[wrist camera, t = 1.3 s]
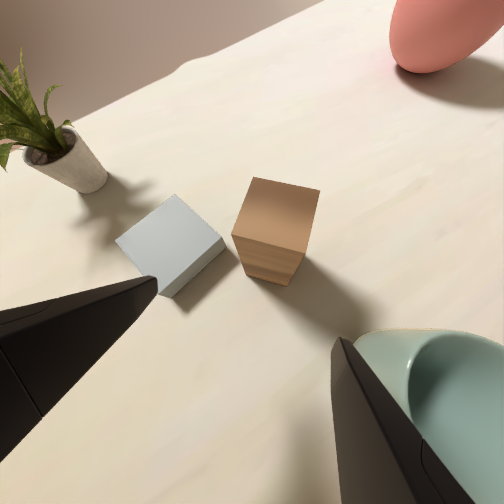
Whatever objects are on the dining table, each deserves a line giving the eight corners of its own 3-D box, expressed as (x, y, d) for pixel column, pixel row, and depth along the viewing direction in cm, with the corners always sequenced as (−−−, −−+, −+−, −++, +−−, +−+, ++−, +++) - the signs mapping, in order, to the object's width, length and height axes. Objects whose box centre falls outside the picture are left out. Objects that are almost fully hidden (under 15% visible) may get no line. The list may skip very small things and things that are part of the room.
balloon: (485, 110, 30) (683, -83, 16) (360, 81, 35) (427, -90, 20) (496, 59, 35) (659, -128, 20) (384, 39, 39) (453, -125, 25)
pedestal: (171, 298, 22) (157, 294, 20) (131, 250, 25) (114, 240, 22) (226, 246, 24) (221, 236, 22) (184, 207, 27) (174, 193, 24)
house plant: (27, 180, 31) (-203, 38, 16) (102, 134, 34) (-31, -22, 19) (63, 234, 27) (-206, 112, 11) (144, 176, 30) (18, 18, 14)
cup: (421, 345, 19) (570, 364, 10) (415, 436, 17) (607, 577, 7) (343, 316, 21) (408, 309, 11) (326, 396, 18) (393, 472, 9)
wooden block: (286, 286, 22) (305, 253, 12) (245, 274, 23) (231, 234, 13) (296, 248, 24) (320, 190, 13) (257, 238, 25) (253, 176, 14)
